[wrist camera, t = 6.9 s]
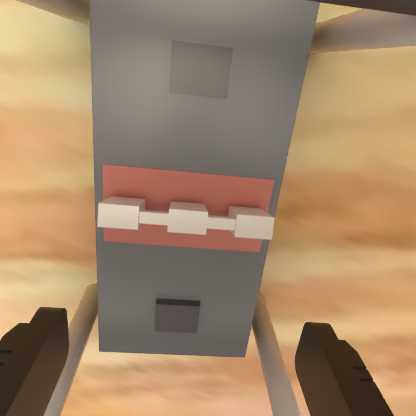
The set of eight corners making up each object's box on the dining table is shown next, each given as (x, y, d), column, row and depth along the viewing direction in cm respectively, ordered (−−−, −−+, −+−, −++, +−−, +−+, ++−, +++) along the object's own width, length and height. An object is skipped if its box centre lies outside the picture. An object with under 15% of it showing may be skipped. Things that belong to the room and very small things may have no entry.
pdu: (328, 14, 21) (636, -92, 6) (261, 314, 30) (325, 540, 16) (71, -22, 19) (-267, -261, 5) (86, 305, 29) (-16, 544, 14)
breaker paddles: (261, 208, 20) (274, 217, 17) (259, 227, 20) (271, 239, 17) (111, 196, 19) (98, 203, 16) (110, 216, 20) (97, 226, 17)
